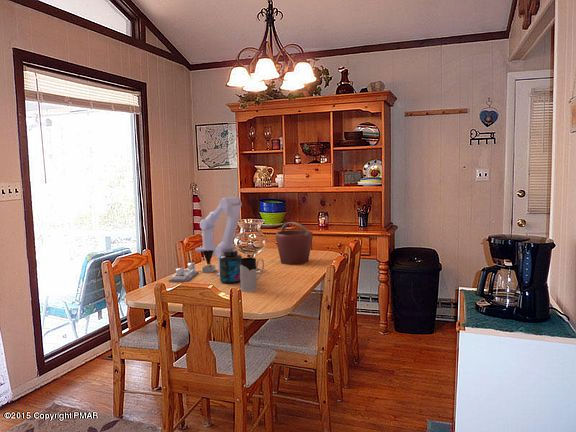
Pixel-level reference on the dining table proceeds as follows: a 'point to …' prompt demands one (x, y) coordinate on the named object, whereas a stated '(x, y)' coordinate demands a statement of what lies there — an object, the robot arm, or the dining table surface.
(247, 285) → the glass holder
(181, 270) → the seated billet
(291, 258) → the bucket
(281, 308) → the dining table surface
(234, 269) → the container
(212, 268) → the console
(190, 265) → the billet
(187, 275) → the pallet board
